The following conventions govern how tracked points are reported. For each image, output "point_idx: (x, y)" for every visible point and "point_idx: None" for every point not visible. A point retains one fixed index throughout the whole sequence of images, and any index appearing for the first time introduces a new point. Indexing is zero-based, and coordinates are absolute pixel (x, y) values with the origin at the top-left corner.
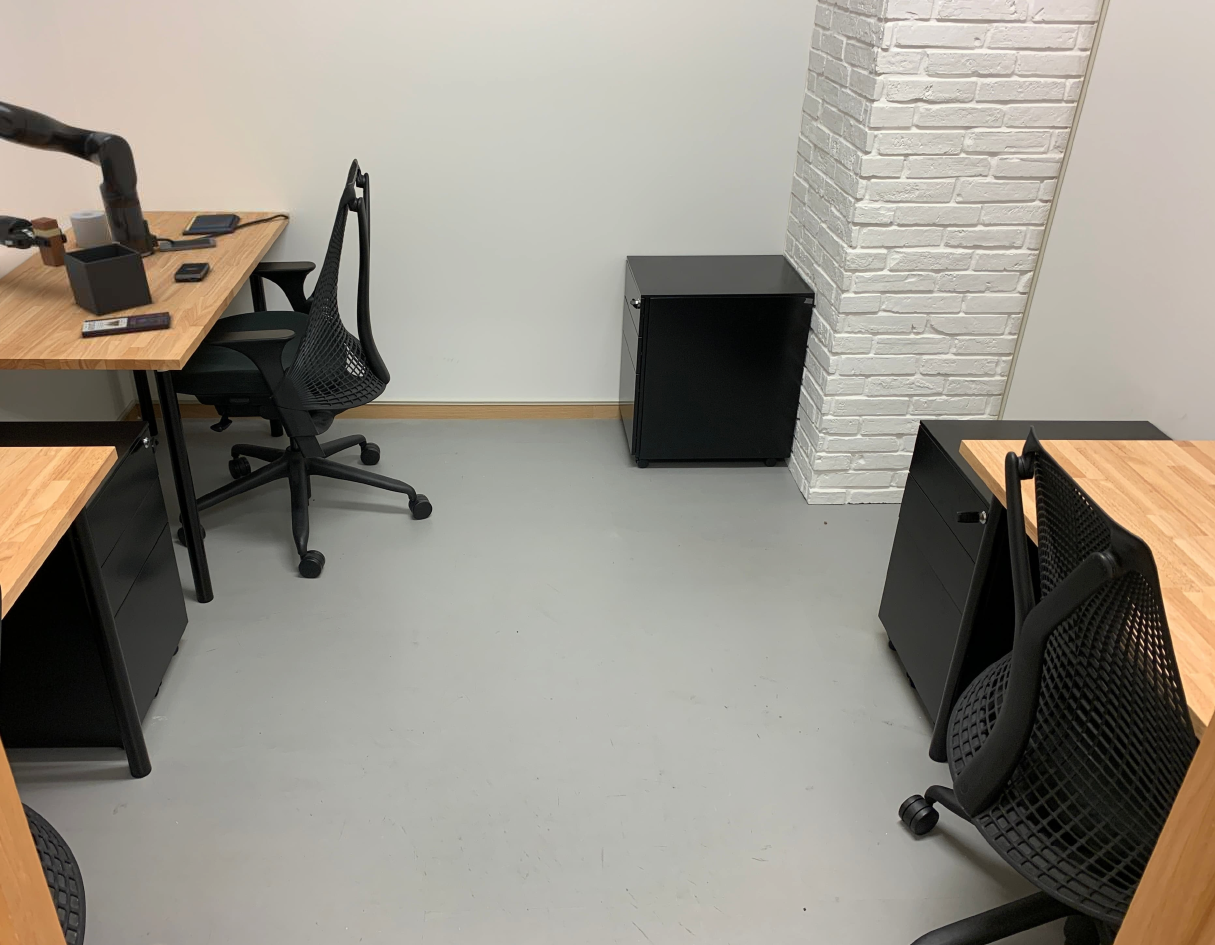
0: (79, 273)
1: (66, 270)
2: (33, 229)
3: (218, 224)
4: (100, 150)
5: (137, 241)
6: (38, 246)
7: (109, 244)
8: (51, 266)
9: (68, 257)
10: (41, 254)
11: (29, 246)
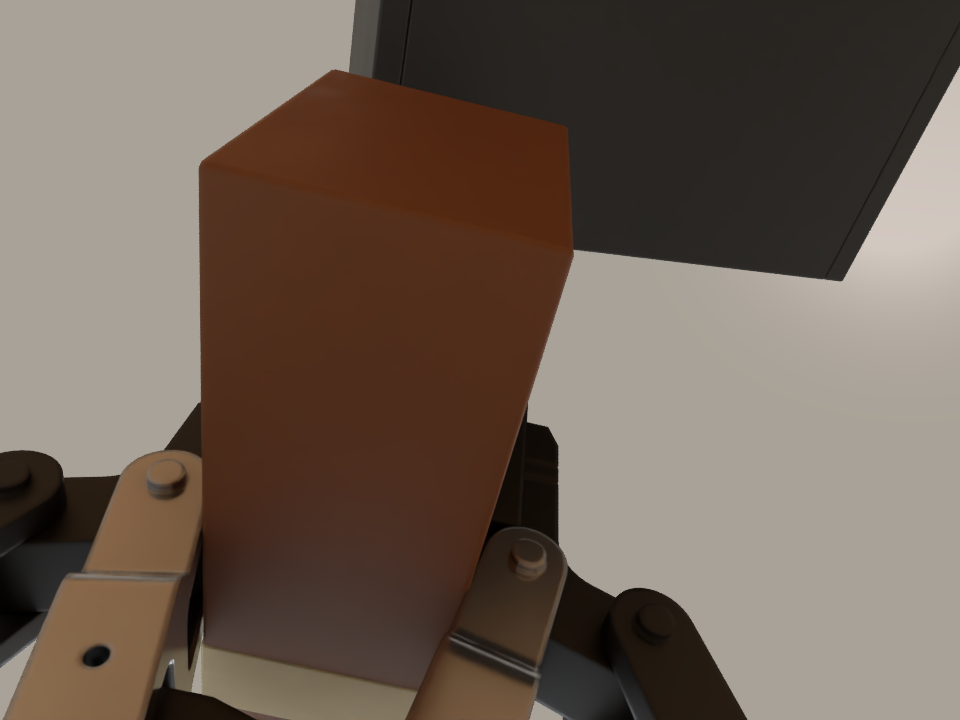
0: (361, 9)
1: (377, 25)
2: (205, 685)
3: None
4: None
5: None
6: (202, 507)
7: (773, 269)
8: (297, 98)
9: None
10: (210, 376)
11: (43, 471)
